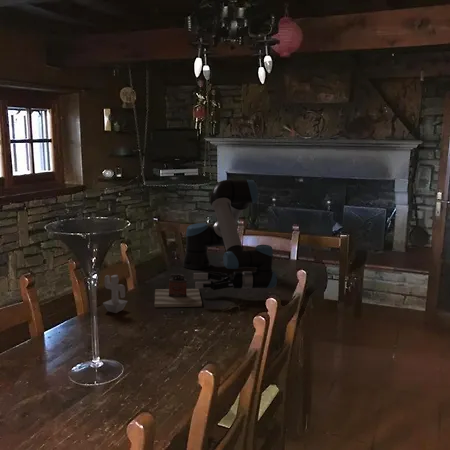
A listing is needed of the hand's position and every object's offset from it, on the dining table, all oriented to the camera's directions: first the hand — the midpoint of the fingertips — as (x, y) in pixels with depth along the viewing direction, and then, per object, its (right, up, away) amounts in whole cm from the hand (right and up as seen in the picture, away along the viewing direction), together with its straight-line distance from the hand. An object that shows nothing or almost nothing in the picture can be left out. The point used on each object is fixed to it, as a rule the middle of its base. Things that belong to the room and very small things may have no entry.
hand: (194, 280), depth 222 cm
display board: (-7, -8, +1) cm, 11 cm away
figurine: (-32, -11, -15) cm, 37 cm away
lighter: (-7, -7, +1) cm, 10 cm away
